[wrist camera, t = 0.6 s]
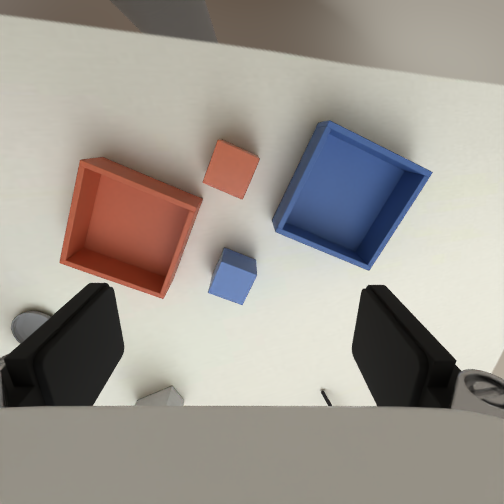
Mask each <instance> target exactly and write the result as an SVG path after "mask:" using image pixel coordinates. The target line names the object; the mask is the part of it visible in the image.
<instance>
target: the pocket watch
mask: <svg viewBox="0 0 504 504" xmlns="http://www.w3.org/2000/svg"><path fill="white" fill-rule="evenodd" d="M49 318H50V316H49V315H47V314H44V313H41V312H37V311H28V312H24V313H21V314H19V315H18V316H17V317H15V318H14V320H13V321H12V324H11V330H12V333H13V335H14V337H15V338H16V340H17V341H18V342H19V343H22V342H23V341H24V340H25V339H27V338H28V337H29V336H30V335H31V334H32V333H33V332H35V331H36V330H37V329H38V328H39V327H40V326H41V325H42V324H44V323H45V322H46V321H47V320H48V319H49ZM7 355H8V354H7ZM7 355H5V356H3V357H1V358H0V370H2V369H3V368H4V367H5V366H6V365H5V362H4V358H5V357H6V356H7Z"/></svg>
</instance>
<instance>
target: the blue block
mask: <svg viewBox="0 0 504 504" xmlns="http://www.w3.org/2000/svg"><path fill="white" fill-rule="evenodd" d="M256 276H257V267H256V260H255V259H253V258H250V257H247V256H245V255H242V254H240V253H237V252H235V251H232V250H230V249H227V248H224V249H223V252H222V254H221V256H220V259H219V261H218V263H217V266H216V268H215V270H214V273H213V275H212V279H211V283H210V287H209V291H208V293H210V294H213V295H216V296H218V297H221V298H224V299H227V300H230V301H232V302H235V303H238V304H241V305H243V303H244V301H245V299H246V297H247V295H248V293H249V291H250V289H251V287H252V285H253V282H254V280H255V278H256Z"/></svg>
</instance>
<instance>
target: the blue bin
mask: <svg viewBox="0 0 504 504" xmlns="http://www.w3.org/2000/svg"><path fill="white" fill-rule="evenodd" d="M432 173H433V172H431V171H429V170H427V169H425V168H423V167H421V166H419V165H417V164H415V163H413V162H411V161H409V160H407V159H405V158H403V157H402V156H400V155H398V154H396V153H394V152H392V151H390V150H388V149H386V148H384V147H382V146H380V145H378V144H376V143H374V142H372V141H370V140H368V139H366V138H364V137H362V136H360V135H358V134H356V133H354V132H352V131H350V130H348V129H346V128H344V127H342V126H340V125H338V124H336V123H334V122H332V121H330V120H329V121H324V122H320V123H318V124H317V126H316V128H315V131H314V133H313V135H312V137H311V139H310V141H309V143H308V145H307V147H306V150H305V152H304V154H303V156H302V158H301V160H300V162H299V164H298V166H297V169H296V171H295V173H294V175H293V177H292V179H291V181H290V183H289V185H288V188H287V190H286V192H285V194H284V196H283V198H282V200H281V202H280V204H279V207H278V209H277V211H276V213H275V215H274V217H273V219H272V222H273V226H274V229H275V232H277V233H279V234H282V235H284V236H286V237H289V238H291V239H294V240H296V241H298V242H301V243H303V244H306V245H308V246H311V247H313V248H315V249H318V250H320V251H323V252H325V253H327V254H330V255H332V256H335V257H337V258H339V259H342V260H344V261H347V262H349V263H352V264H354V265H356V266H359V267H361V268H364V269H366V270H368V271H369V270H370V269H371V266H373V264H374V263H375V261H376V259H377V258H378V256H379V255H380V253H381V252H382V250H383V249H384V247H385V246H386V244H387V242H388V241H389V239H390V238H391V236H392V235H393V233H394V232H395V230H396V229H397V227H398V225H399V224H400V222H401V221H402V219H403V218H404V216H405V215H406V213H407V212H408V210H409V208H410V207H411V205H412V204H413V202H414V201H415V199H416V198H417V196H418V195H419V193H420V191H421V190H422V188H423V187H424V185H425V184H426V182H427V181H428V179H429V177H430V176H431V174H432Z"/></svg>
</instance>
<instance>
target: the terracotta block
mask: <svg viewBox="0 0 504 504" xmlns="http://www.w3.org/2000/svg"><path fill="white" fill-rule="evenodd" d="M259 160H260V158H259V157H258V156H257V155H255V154H253V153H251V152H248V151H246V150H244V149H242V148H240V147H238V146H235V145H233V144H231V143H229V142H227V141H224V140H218V141H217V144H216V146H215V149H214V152H213V155H212V157H211V160H210V163H209V166H208V169H207V171H206V174H205V177H204V180H203V183H205V184H207V185H209V186H212V187H214V188H216V189H219V190H221V191H223V192H226V193H228V194H230V195H233V196H235V197H238V198H240V199H243V198H244V195H245V193H246V191H247V188H248V186H249V183H250V181H251V179H252V176H253V174H254V172H255V169H256V167H257V165H258V162H259Z"/></svg>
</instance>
